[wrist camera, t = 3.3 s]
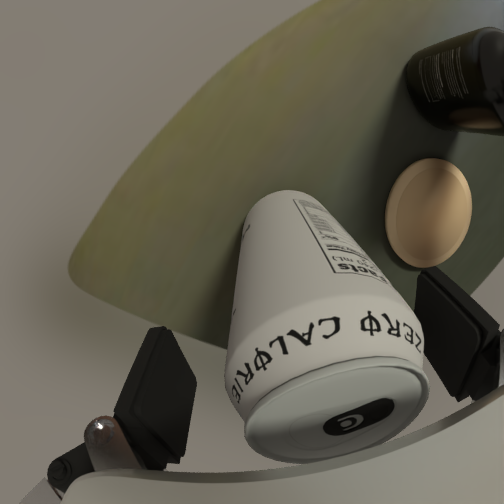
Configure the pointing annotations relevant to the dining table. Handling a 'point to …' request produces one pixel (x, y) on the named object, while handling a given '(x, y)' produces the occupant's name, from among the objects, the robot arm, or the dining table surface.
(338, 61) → the dining table surface
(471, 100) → the supplement bottle
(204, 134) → the dining table surface
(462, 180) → the coaster
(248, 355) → the energy drink can
